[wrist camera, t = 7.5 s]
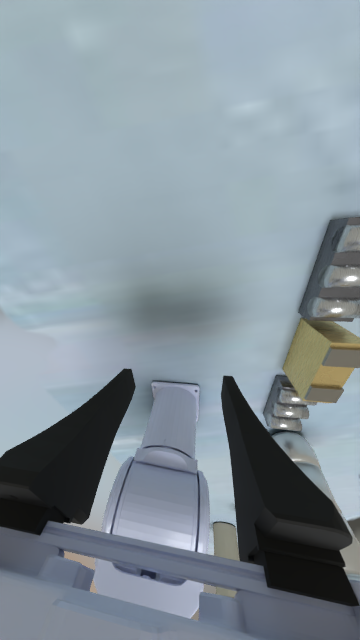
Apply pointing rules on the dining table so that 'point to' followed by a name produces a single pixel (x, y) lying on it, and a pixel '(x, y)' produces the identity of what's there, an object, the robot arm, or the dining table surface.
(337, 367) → the gold block
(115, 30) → the dining table surface
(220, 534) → the travel mug
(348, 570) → the plastic bottle
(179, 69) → the dining table surface
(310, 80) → the dining table surface
